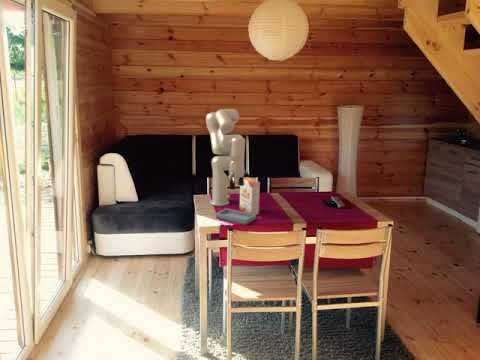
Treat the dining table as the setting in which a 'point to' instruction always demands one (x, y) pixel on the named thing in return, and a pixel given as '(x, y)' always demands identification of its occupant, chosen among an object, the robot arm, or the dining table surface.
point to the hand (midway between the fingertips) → (236, 187)
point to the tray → (236, 216)
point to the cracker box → (250, 196)
